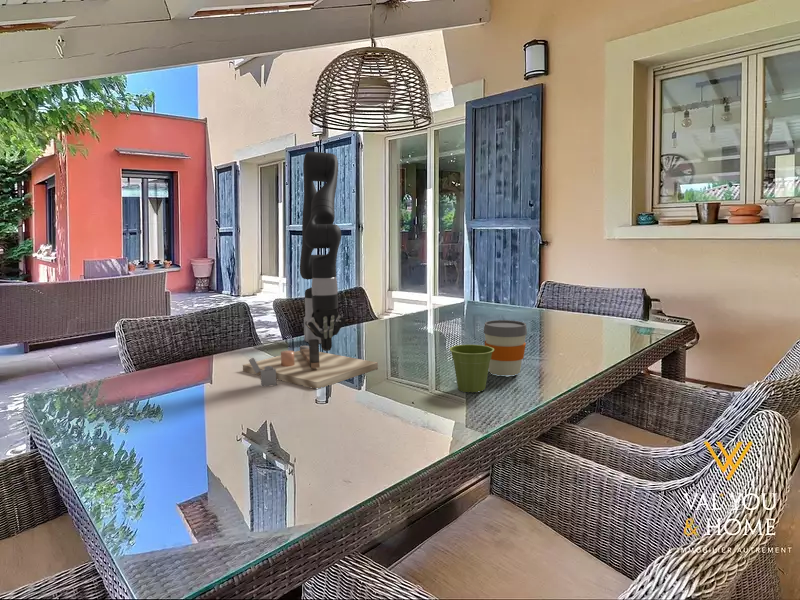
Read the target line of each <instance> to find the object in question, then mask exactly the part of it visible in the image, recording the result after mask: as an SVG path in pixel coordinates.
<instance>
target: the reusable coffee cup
mask: <svg viewBox="0 0 800 600" xmlns="http://www.w3.org/2000/svg"><path fill="white" fill-rule="evenodd" d="M527 330H528V328H527V324H526V322H523V321H520V320H507V319H506V320H505V319H498V320H488V321H485V322H484V328H483V333H484V337H485V340H484V346H489V347H492V348H494V352H492V356H491V360H490V363H489V369H488V373H489V372H490V373H492V374H497V375H515V374H518V373H520V374H521V367H522V361H523V359H524V357H525V352H526V351H525V350H526V345H527V342H525V341H526V336H527V335H528V332H527ZM490 373H489V374H490Z"/></svg>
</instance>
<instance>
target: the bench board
mask: <svg viewBox="0 0 800 600" xmlns="http://www.w3.org/2000/svg"><path fill="white" fill-rule="evenodd" d="M255 361H256V360H255ZM294 361H295V365H293V366H281V354H279V355H277V356H273V357H269V358H265V359H261V360H257V361H256V363H257V365H258V366H259V368H260V370H265V366H271V367H273V369H276V380H277V379H278V381H281V380H282V381H281V382H285V383H290V384H293V385H296V386H301V385H303V386H302V387H305V386H307V387H306V388H309V387H312V388H311V389H313V388H320V389H322V388H321V387H323V388H326V387H329V386H331V385H332V386H333V385H334V384H337V383H340V382H343V381H346V380H348V379H353V378H356V377H357V376H361V375H364V374H367V373H369V372H372V371H375V370H378V367H379V365H378V362H376V361H371V360H367V359H366V360H365V359H361V358H356V357H355V358H354V357H351V356H350V357H348V356H345V355H339V354H334V353H328V352H325V351H324V352H323V351H319V364H320V368H311V367H310V365H309V364H308V363H307V361H306V360H305V358H304V357H303V355H302V354H301V353H300V350H296V351H294ZM242 372H245V373H248V374H253V375H258V376H260V377H261V371H260V372H259V373H257V374H256V372H255V371H254V369H253V367H252V366H251V364H250V362H249V363H245V364H242ZM328 385H329V386H328ZM325 386H326V387H325Z"/></svg>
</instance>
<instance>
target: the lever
mask: <svg viewBox="0 0 800 600" xmlns="http://www.w3.org/2000/svg"><path fill="white" fill-rule="evenodd" d="M299 351H300V353H301V354H302V355H303V357H304V358H305V360H306V361H307V363H308V364H309V365H310V367H311V368H320V364H319V352H320V343H319V340H318V339H311V340H309V343H308V345H300V346H299Z"/></svg>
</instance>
